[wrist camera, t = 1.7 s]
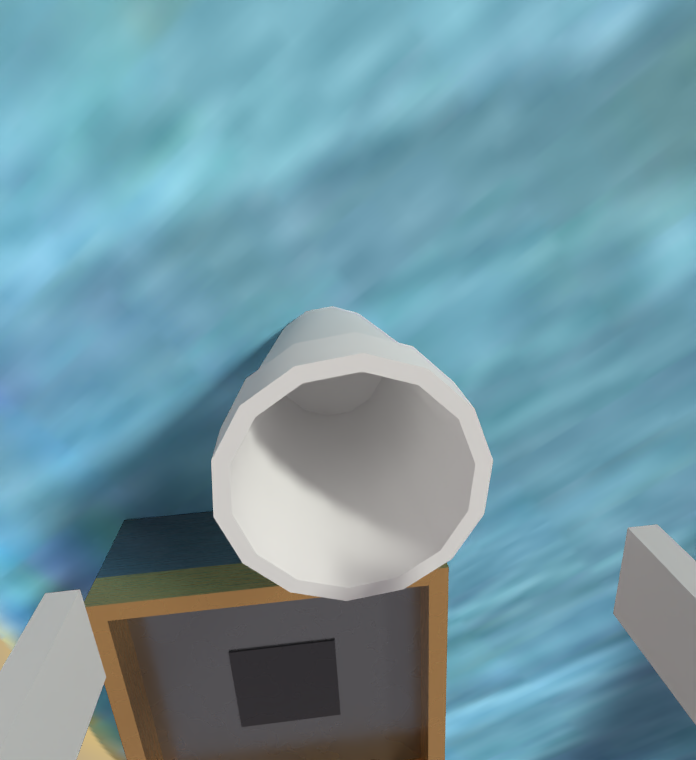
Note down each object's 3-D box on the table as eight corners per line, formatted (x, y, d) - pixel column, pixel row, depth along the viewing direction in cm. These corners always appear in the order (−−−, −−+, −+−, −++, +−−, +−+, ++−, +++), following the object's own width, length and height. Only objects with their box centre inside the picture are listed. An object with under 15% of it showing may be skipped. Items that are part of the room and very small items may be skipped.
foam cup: (311, 465, 32) (322, 640, 20) (208, 348, 29) (147, 471, 17) (443, 375, 31) (539, 503, 19) (350, 242, 28) (395, 293, 16)
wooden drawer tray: (418, 491, 33) (448, 567, 27) (419, 697, 40) (443, 798, 33) (97, 522, 32) (47, 611, 26) (152, 730, 39) (123, 843, 32)
